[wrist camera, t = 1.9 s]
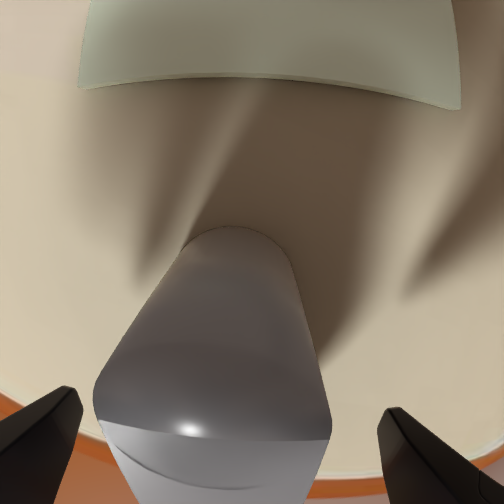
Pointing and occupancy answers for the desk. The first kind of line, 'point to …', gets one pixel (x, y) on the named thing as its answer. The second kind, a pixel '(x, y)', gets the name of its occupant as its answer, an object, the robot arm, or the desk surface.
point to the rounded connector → (218, 381)
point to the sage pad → (278, 44)
